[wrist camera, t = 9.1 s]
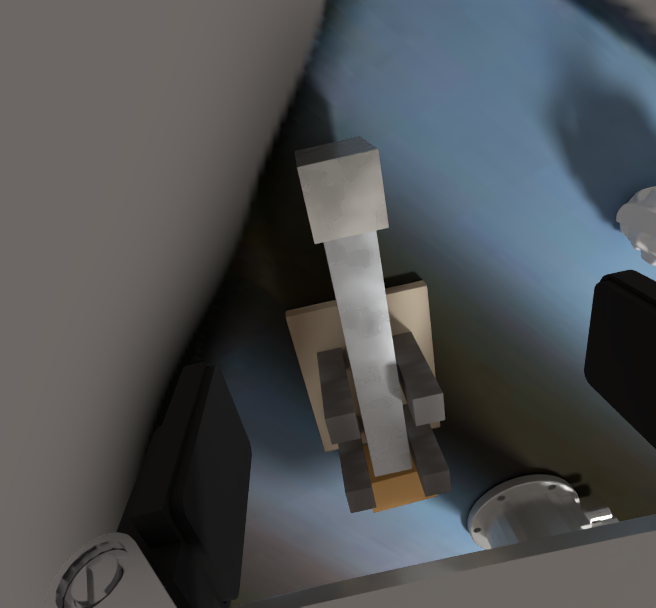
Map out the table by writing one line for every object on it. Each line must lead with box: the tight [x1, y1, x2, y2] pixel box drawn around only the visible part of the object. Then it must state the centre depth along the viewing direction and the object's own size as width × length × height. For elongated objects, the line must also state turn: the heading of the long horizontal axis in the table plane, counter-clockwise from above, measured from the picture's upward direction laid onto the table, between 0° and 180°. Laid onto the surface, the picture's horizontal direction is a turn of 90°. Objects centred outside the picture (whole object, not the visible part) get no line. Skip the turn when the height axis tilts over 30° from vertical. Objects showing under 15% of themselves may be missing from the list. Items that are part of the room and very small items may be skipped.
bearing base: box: [286, 280, 451, 513], centre depth 32 cm, size 11×15×8 cm
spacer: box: [363, 444, 437, 513], centre depth 39 cm, size 6×4×4 cm
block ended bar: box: [294, 136, 412, 477], centre depth 28 cm, size 4×24×6 cm, turn 11°
